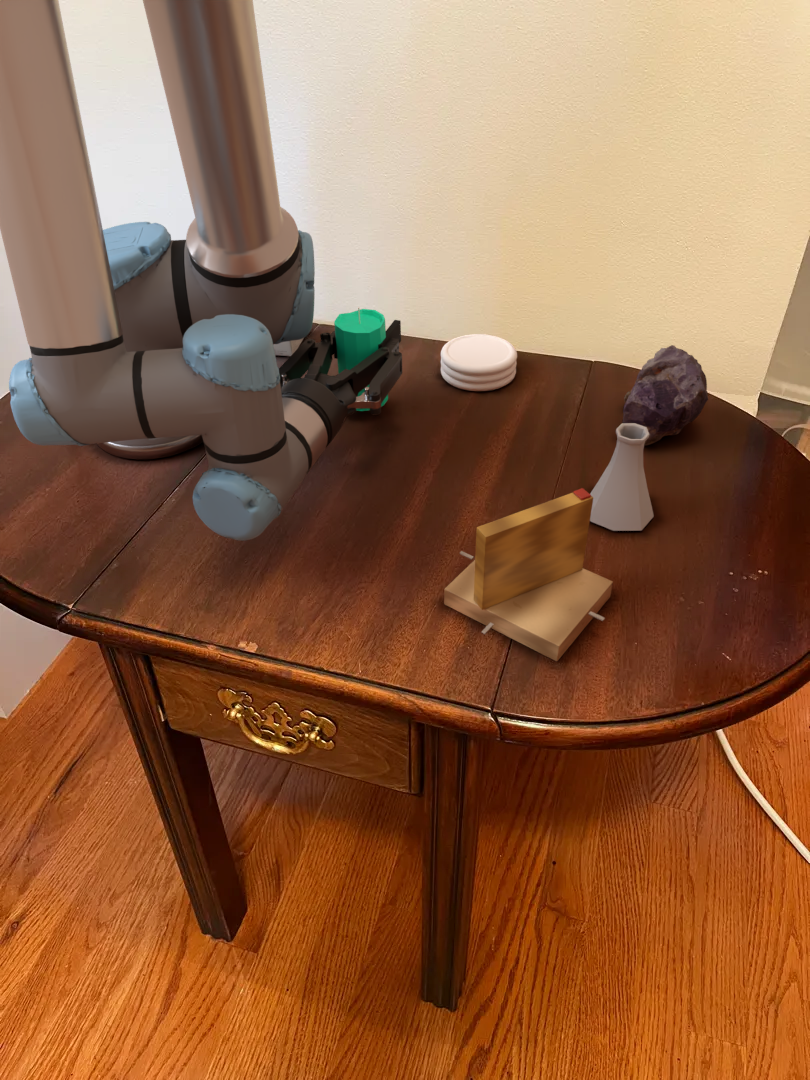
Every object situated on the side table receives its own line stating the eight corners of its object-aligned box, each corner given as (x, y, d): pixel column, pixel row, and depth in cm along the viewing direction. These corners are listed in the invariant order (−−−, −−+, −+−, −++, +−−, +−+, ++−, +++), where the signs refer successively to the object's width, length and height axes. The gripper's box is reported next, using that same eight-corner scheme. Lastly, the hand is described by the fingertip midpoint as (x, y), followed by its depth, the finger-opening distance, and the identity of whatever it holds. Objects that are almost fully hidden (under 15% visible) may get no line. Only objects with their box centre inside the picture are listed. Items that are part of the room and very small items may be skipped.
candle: (391, 386, 106) (387, 296, 98) (385, 412, 101) (381, 320, 94) (344, 385, 106) (337, 295, 99) (336, 410, 102) (328, 318, 94)
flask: (657, 498, 90) (674, 418, 83) (649, 539, 84) (666, 457, 78) (589, 486, 92) (601, 407, 85) (577, 526, 86) (589, 444, 80)
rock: (605, 448, 99) (692, 465, 96) (610, 391, 93) (703, 407, 89) (629, 389, 106) (711, 402, 103) (635, 331, 100) (723, 344, 96)
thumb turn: (482, 610, 74) (485, 534, 69) (473, 599, 76) (476, 524, 70) (582, 569, 78) (593, 495, 73) (572, 560, 79) (583, 486, 74)
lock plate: (413, 613, 77) (413, 596, 76) (502, 528, 86) (503, 512, 85) (558, 689, 70) (560, 672, 69) (638, 588, 79) (642, 571, 78)
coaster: (435, 358, 115) (435, 335, 112) (507, 353, 115) (508, 329, 113) (446, 395, 107) (446, 371, 105) (523, 390, 108) (525, 365, 105)
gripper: (226, 442, 91) (314, 344, 108) (378, 471, 87) (445, 365, 103) (214, 381, 86) (308, 289, 103) (375, 409, 82) (446, 308, 98)
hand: (377, 327), depth 103 cm, fingers closed on candle, 5 cm apart
